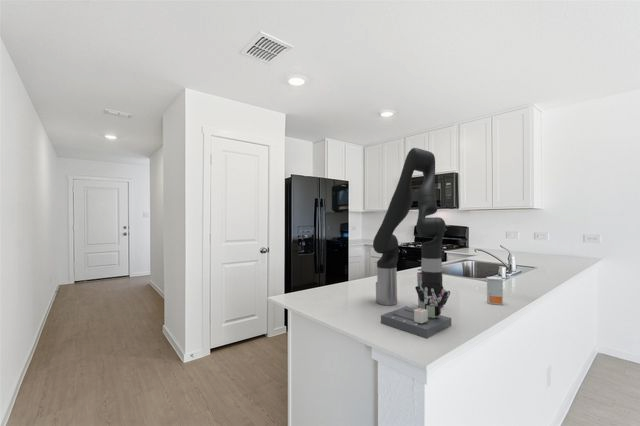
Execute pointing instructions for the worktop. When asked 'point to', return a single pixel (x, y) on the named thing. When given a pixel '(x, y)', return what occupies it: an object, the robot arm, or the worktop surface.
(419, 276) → the candy bar box
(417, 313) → the block
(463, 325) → the worktop surface
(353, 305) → the worktop surface
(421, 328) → the fader board
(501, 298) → the skincare box
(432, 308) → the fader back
